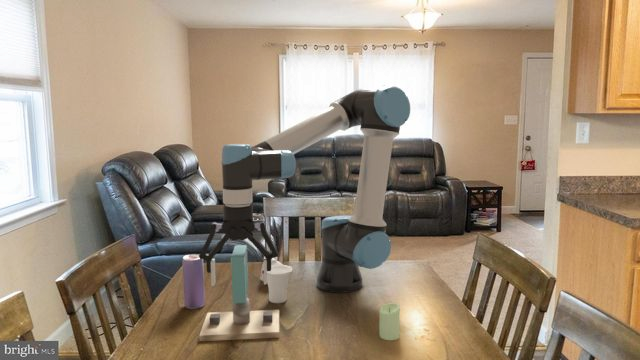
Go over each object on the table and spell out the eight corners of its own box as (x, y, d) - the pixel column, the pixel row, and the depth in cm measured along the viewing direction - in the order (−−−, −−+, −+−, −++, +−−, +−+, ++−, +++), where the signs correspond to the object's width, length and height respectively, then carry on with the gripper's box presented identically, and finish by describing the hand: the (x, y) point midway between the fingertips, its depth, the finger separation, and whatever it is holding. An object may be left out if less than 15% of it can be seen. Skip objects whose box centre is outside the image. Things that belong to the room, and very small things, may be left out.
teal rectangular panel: (248, 291, 133) (247, 245, 131) (245, 307, 122) (244, 257, 120) (236, 291, 133) (234, 245, 131) (232, 307, 122) (230, 257, 120)
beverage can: (199, 310, 140) (197, 260, 138) (180, 308, 141) (178, 259, 139) (208, 302, 145) (206, 254, 143) (190, 301, 147) (188, 253, 144)
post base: (279, 314, 136) (278, 289, 135) (279, 337, 123) (278, 309, 121) (207, 317, 135) (206, 292, 134) (199, 341, 121) (198, 312, 120)
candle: (385, 342, 120) (386, 310, 118) (375, 333, 124) (376, 303, 123) (402, 338, 122) (403, 307, 120) (392, 330, 126) (392, 300, 125)
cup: (278, 308, 141) (278, 275, 139) (258, 300, 147) (257, 268, 146) (300, 299, 147) (299, 268, 146) (279, 292, 154) (278, 261, 152)
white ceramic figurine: (268, 248, 169) (272, 255, 155) (288, 258, 171) (293, 267, 156) (255, 272, 169) (257, 282, 154) (274, 282, 170) (279, 293, 155)
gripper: (286, 200, 129) (286, 277, 132) (191, 202, 127) (193, 279, 129) (286, 206, 121) (287, 287, 124) (185, 207, 119) (188, 289, 122)
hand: (239, 283), depth 127 cm, fingers open, 13 cm apart
